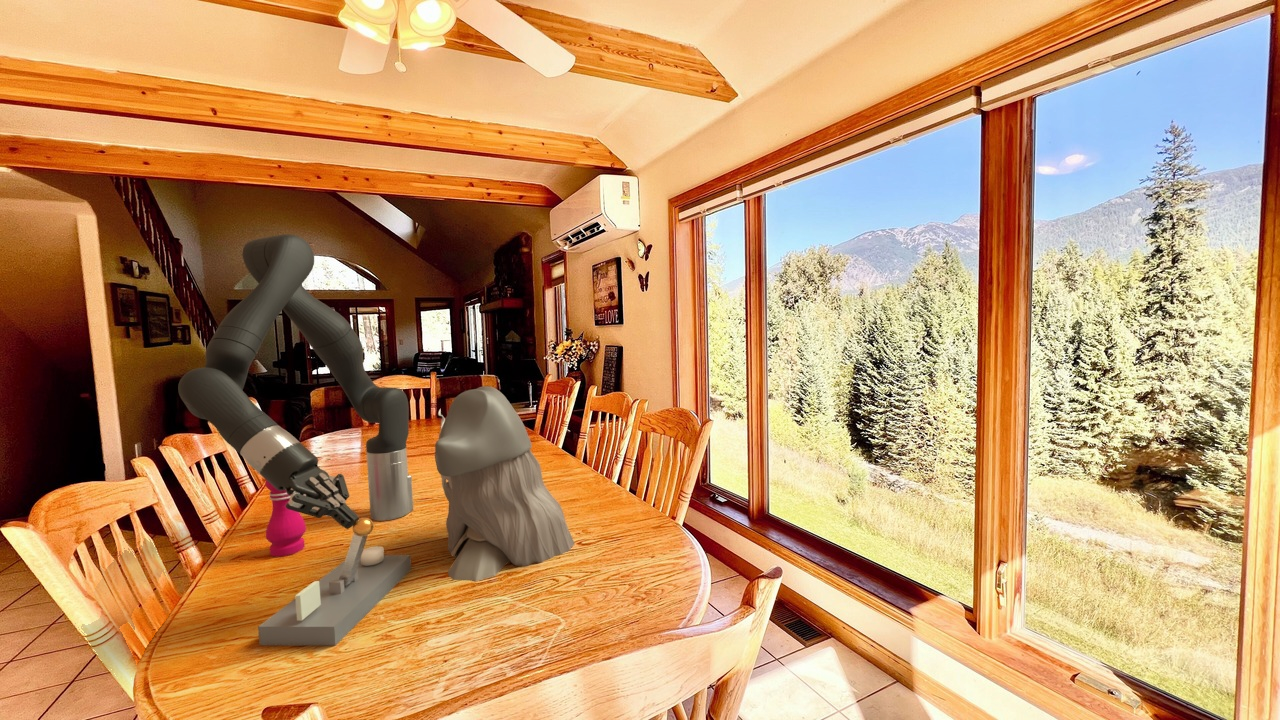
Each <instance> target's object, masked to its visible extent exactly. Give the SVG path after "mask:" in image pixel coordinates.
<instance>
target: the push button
mask: <svg viewBox="0 0 1280 720" xmlns="http://www.w3.org/2000/svg"><path fill="white" fill-rule="evenodd" d="M384 551H385V549H384V547H383V546H381V545H380V546H379V545H375V546H370V547H366V548H364V549H363V552H362V555H361V564H362V565H365V566H369V565H375V564H378V563H380V562H382V561H383V560H384V555H385V553H384Z"/></svg>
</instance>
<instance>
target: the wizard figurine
mask: <svg viewBox="0 0 1280 720" xmlns="http://www.w3.org/2000/svg"><path fill="white" fill-rule="evenodd" d="M441 412H442V411H441V408H440V409H439V410H438V413H437V415H438V416H439V417H441V419H440V432H439V433H438V434H439V435H438V440H437V441H436V442H435V443H434V444H435V446H434V450H435V451H434V461H435V466H436V469H437V472H438V474H440V477H441V485H442V489H443V491H444V496H445V497H446V499H447V501H448V512H447V517H446V522H445V523H446V524H445V525H446V526H445V527H446V530H447V536H448V537H447V538H448V539H447V541H448V542H447V544H448V545H447V551H448V552H449V553H450V555H451V557H456V558H455V560H454V561H453V562H452V565H451V566H450V567H449V569H448V571H447V574H448V577H449V578H450V579H452V580H453V581H454V580H455V581H471V582H479V581H481V580H486V579H489V578H493V577H495V576H497V574H499V572H500V571H502V569H503V568H505V566H506V565H507V564H508V563H512V565H514V566H516V567H517V566H518V567H519V566H523V567H527V566H530V565H532V564H534V563H537V564H540V563H544V562H545V561H549V560H550V559H552V558H554V557H557V556H561V555H563V554H565V553H567V552H570V551H571V550H572V547H573V546H575V544H576V543H575V541H574V539H573V537H572V534H571V531H570V530H569V527H568V524H567V522H566V518H565V515H564V510H563V508H562V506H561V504H560V503H559V501H557V500H556V498H555V497H554V496H553V495H552V494H551V492H550V490H549V489H548V488H547V487H546V485H545V482H544V480H543V474H542V468H541V464H540V462H539V461H538V459H537V458H536V456H535V455H534V453H533V452H532V451H531V449H532V441H531V438H530V437H529V434H528V431H527V429H526V426H525V424H524V423H523V421H522V419H521V417H520V416H519V414H518V412H517V411H516V409H514V407H513V406H512V404H511V403H510V401H509V400H508V399H507V397H506V396H505V395H504V394H503V393H502V392H501V391H500V390H498V389H497V388H495V387H493V386H486V385H485V386H480V387H477V388H474V389H468V390H464V391H463V392H461V393H460V394H458V395H457V396H456V397H455V398H454V399H453V401H452V402H451V404H450V406H449V408H448V411H447V412H448V413H447V414H446V417H444V415H443V414H442V413H441Z"/></svg>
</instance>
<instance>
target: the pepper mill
mask: <svg viewBox="0 0 1280 720" xmlns="http://www.w3.org/2000/svg"><path fill="white" fill-rule="evenodd" d="M265 487H266V489H267V490H269V491H270V492H269V493H268V495H269V500H271V502H272V503H271V504H272V511H271V515H270V518H269V522H268V524H267V527H266V530H265V538H266V540H267V541H268V542H269V543H270V546H269V554H270V556H271V557H278V558H279V557H280V558H281V557H287V556H291V555H294V554H297V553H299V552H301V551H302V550H303V549H304V548H305V547H306V546H305V545H306V544H305V538H303V535H304V534H305V533H306V530H307V527H306V526H307V525H306V521H305V519H304V518H303V516H302V514H301V513H300V512H296V511H293V510H289V509H287V508H286V507H285V505H286V504H287V503H288V502H289V501H290V496H289V495H288V494H287V492H286V490H284V491H279V490H277V489H276V488H275V487H274V486H273V485H271V484H270V483H269V482H268V481H267V480H266V479H265Z"/></svg>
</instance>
